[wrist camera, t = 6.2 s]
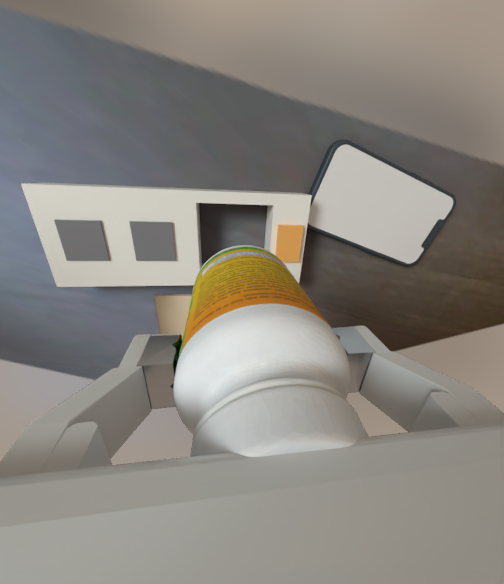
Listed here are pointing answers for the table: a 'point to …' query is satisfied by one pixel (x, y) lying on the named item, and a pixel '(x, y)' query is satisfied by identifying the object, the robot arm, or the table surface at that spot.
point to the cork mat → (172, 312)
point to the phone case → (376, 204)
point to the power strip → (148, 231)
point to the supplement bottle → (260, 363)
